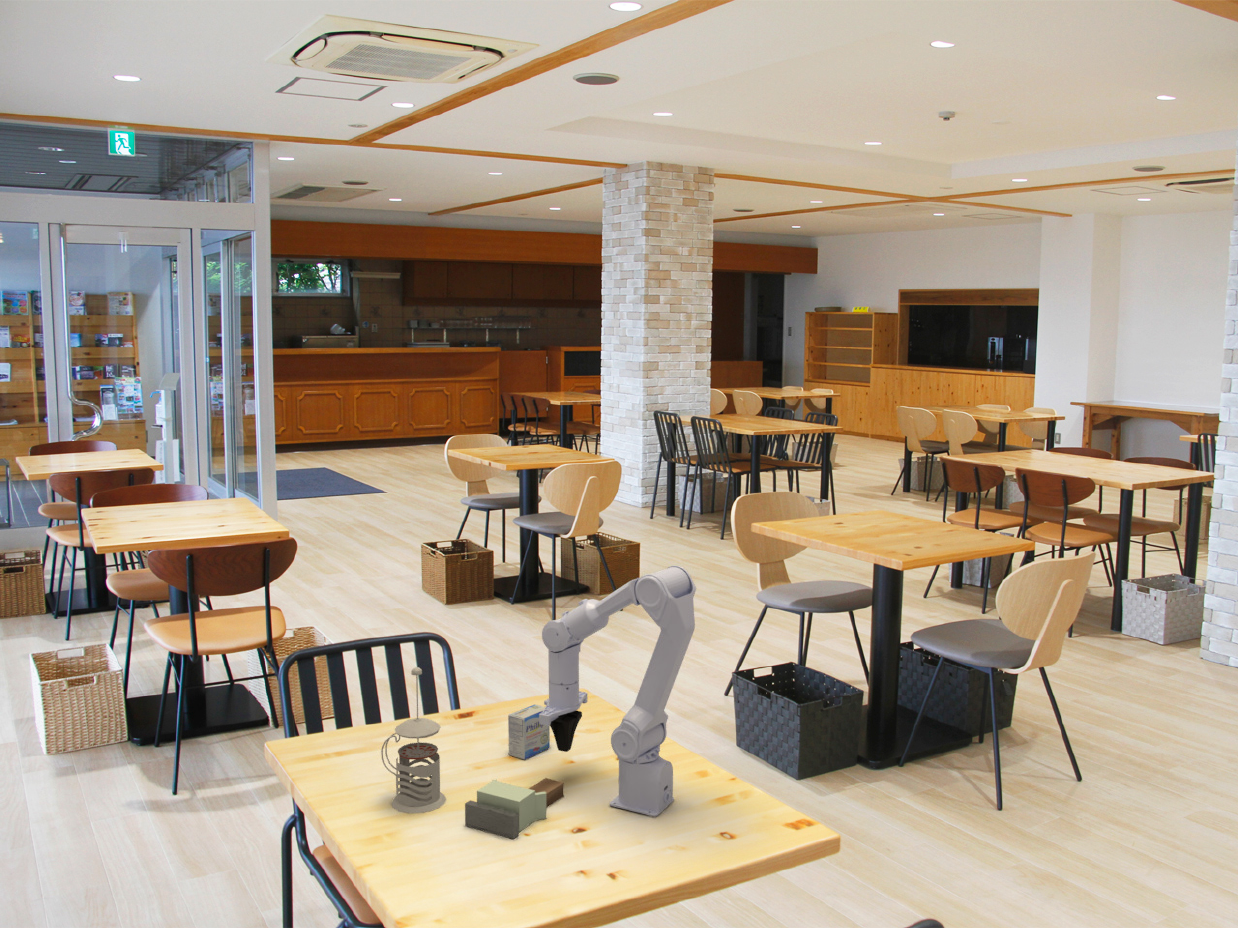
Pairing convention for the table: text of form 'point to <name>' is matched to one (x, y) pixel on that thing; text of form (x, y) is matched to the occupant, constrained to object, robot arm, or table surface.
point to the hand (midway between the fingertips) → (564, 749)
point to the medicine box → (527, 733)
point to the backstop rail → (492, 819)
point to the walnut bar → (550, 790)
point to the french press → (419, 791)
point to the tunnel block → (514, 801)
